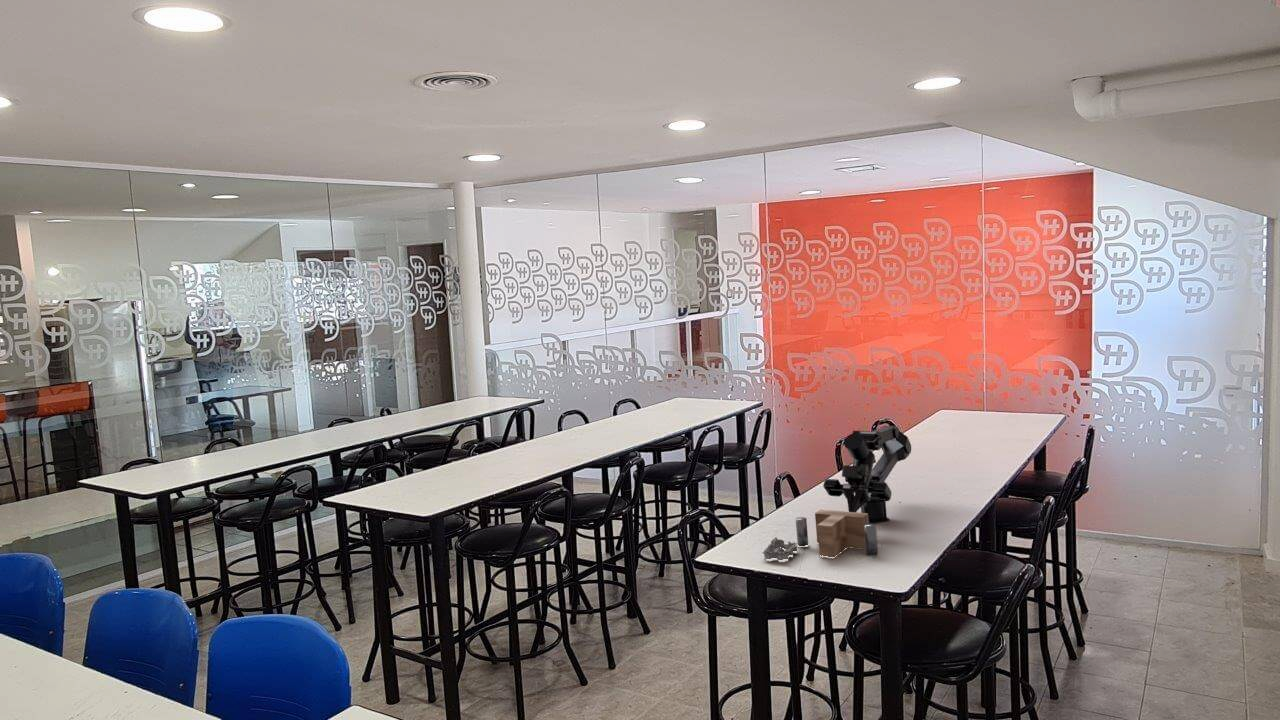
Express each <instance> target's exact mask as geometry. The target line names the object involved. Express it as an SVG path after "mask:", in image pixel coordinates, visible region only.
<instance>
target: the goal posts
mask: <svg viewBox="0 0 1280 720" xmlns="http://www.w3.org/2000/svg"><path fill="white" fill-rule="evenodd" d="M795 527H796V540H797V542H796V543H798V544H797V546H798V545H799V546H805V545H808V544H809V533H808V521H807V517H803V516H801V517H795ZM864 528H865V542H866V549H865V552H866V553H865V554H866V555H867V556H869V555H875V556H878V555H879V550H878V537H877V536H878V535H877V534H878V533H877V525H876V523H867V524H865V525H864ZM877 554H878V555H877Z"/></svg>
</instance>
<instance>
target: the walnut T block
mask: <svg viewBox="0 0 1280 720" xmlns="http://www.w3.org/2000/svg"><path fill="white" fill-rule="evenodd" d="M814 517H815V519H814V521H815V530H816V543H817V542H818V543H819V545H818V553H819V556H820V555H821V556H822V555H823V556H828V557H835V556H836V555H838V554H839V553H840V552H842V551H843V550H844V549H845V548H847V547H853V548H852V549H856V548H861V549H860V550H866V542H865V528H864V525H865V524H867V523H869V518H868V513H861V512H858V511H857V512H849V511H844V510H831V509H819V510H818V511H816V512H815V513H814ZM847 549H848V548H847ZM844 551H845V550H844ZM844 551H843V552H844ZM843 552H842V553H843ZM839 555H840V554H839ZM839 555H838V556H839Z"/></svg>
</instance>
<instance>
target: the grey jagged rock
mask: <svg viewBox="0 0 1280 720" xmlns="http://www.w3.org/2000/svg"><path fill="white" fill-rule="evenodd" d="M770 541H771V542H770V544H768V545H767V547H766V548H764V550H763V552H762V554H763V555H764V558H765V557H766V559H771V558H777V559H778V560H783V559H788V556H789V555H793V556H794V554H793V551H797V552H798V542H795V541H793V542H791V541H788V543H785V541H784V540H783V539H781V538H780V539H779V538H778V536H775V537H773V539H772V540H770ZM780 547H781V548H780ZM782 548H784V549H786V550H785V551H783V550H782Z"/></svg>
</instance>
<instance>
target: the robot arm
mask: <svg viewBox="0 0 1280 720" xmlns="http://www.w3.org/2000/svg"><path fill="white" fill-rule="evenodd" d="M843 446H844V447H845V449H846V451H847V453H848V454H849V456H850V458H852V459H853V463H852V465H842V471H841V477H842V478H845V479H844V481H845V482H846V483H842V484H841V482H840V480H839V479H832V478H826V479H825V480H824V482H823V489H824V490H825V492H826V493H827V494H828V496H830V497H838V498H839V497H841V496H844V497H845V499H846V501H847V507H848V509H847V510H848V512H857V513H858V511H859V510H860V513H868V518H869V523H873V524H875V523H879V522H886V521H890V518H889V517H887V515H888V514H887V504H886V503H887V502H889V501H890V500H891V499H892V491H891V488H890V486H889V484H888V483H887V482H885V481H886V480H887V479H888V477H889V475H890V474H891V472H892V471H893V469H894V468H895V467H896V465H897V463H898V462H901V461H905V460H906V459H907V458H908V457H909V456H910V455H911V453H912V444H911V441H910V439H909V437H908V436H907V435H906V434H904V433H903V432H902V431H900V428H899V427H898V426H896V425H883V426H881V427H879V428H877V429H875V430H872V431H871V430H852V433H851V434H849V435H847V436H846V437H845V438H844V439H843ZM880 450H882V452H883V453H882V454H881V456H880V457H879V459H878V460H876V458H875V457H876V455H875V453H874V452H873V451H880ZM874 464H875V465H874Z"/></svg>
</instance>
